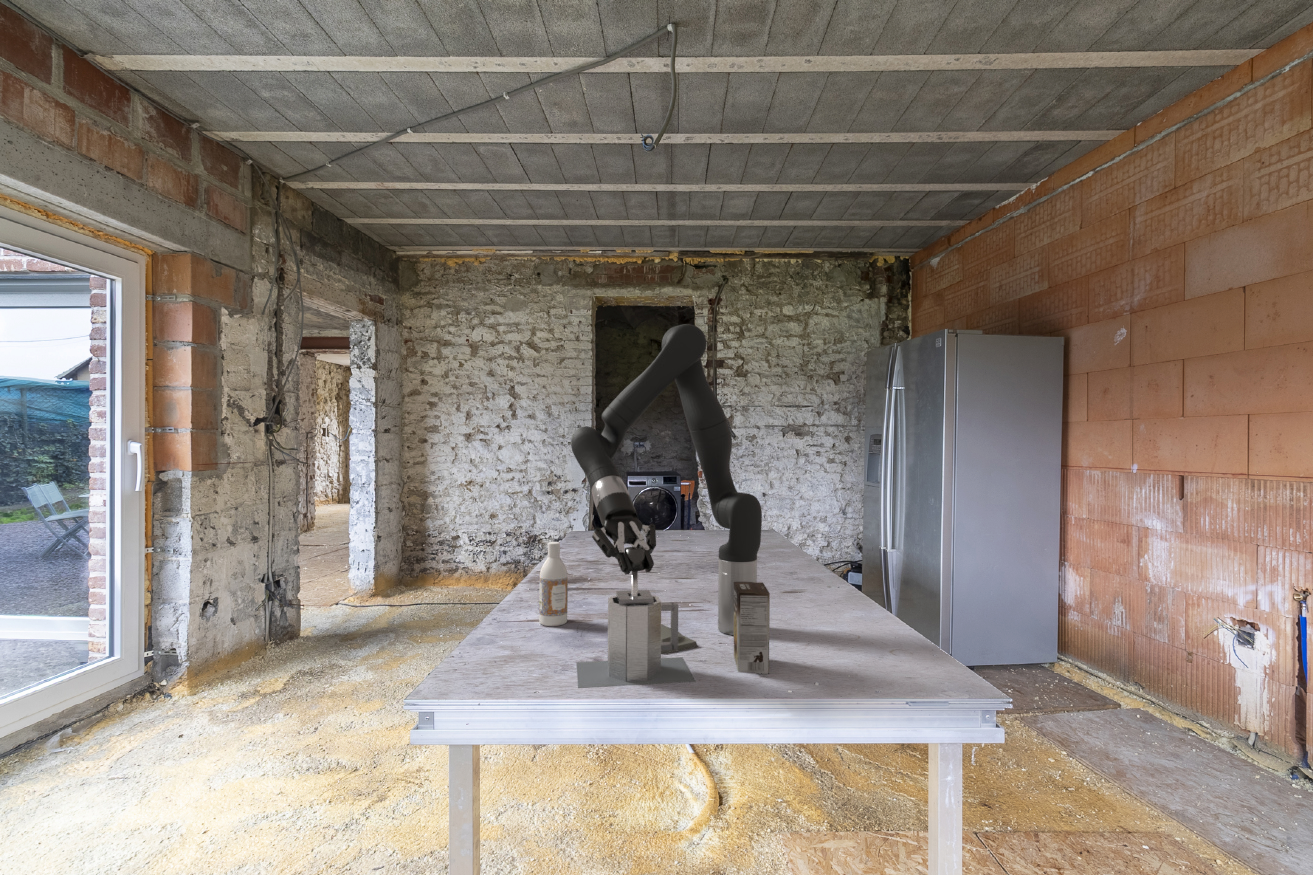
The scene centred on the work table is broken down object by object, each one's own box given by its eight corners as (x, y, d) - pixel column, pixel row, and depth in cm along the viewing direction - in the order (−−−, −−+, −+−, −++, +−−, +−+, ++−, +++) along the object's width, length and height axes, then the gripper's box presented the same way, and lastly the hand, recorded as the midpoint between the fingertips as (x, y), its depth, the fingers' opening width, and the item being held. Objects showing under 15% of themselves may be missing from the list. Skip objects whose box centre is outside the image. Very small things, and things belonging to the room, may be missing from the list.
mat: (682, 659, 127) (682, 657, 127) (696, 683, 115) (696, 681, 115) (576, 664, 124) (576, 662, 124) (578, 689, 111) (578, 687, 111)
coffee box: (732, 657, 129) (733, 580, 129) (763, 658, 128) (763, 581, 129) (736, 673, 120) (737, 591, 120) (769, 674, 119) (770, 591, 119)
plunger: (648, 651, 123) (649, 545, 123) (653, 663, 116) (654, 551, 117) (615, 652, 122) (615, 545, 122) (618, 665, 115) (619, 552, 116)
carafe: (672, 660, 126) (673, 587, 126) (682, 678, 116) (682, 599, 116) (606, 663, 123) (607, 589, 124) (610, 682, 114) (611, 602, 114)
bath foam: (545, 628, 148) (546, 545, 148) (534, 621, 153) (535, 541, 154) (571, 624, 151) (572, 543, 152) (560, 617, 157) (560, 539, 157)
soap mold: (650, 627, 151) (651, 613, 151) (698, 650, 134) (698, 634, 134) (614, 634, 146) (614, 619, 146) (659, 659, 129) (659, 642, 129)
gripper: (637, 512, 134) (664, 578, 123) (576, 515, 127) (599, 585, 117) (649, 489, 130) (678, 556, 119) (586, 492, 123) (611, 562, 112)
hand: (639, 570), depth 118 cm, fingers closed on plunger, 4 cm apart
